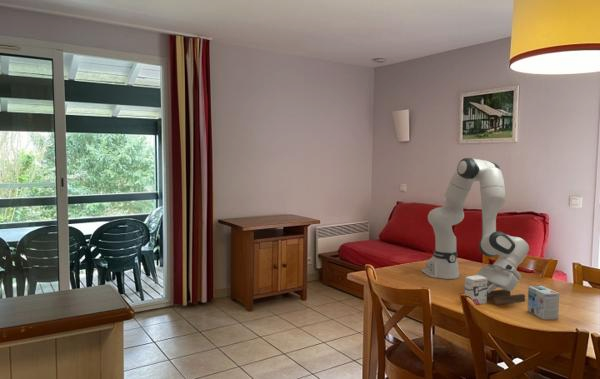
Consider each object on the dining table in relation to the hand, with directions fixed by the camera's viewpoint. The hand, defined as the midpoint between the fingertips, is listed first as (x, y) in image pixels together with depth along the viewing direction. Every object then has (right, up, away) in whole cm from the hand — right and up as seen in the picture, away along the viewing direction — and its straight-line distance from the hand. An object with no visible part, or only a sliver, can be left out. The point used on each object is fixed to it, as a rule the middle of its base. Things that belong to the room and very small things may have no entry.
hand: (485, 291), depth 192 cm
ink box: (-5, -5, -1) cm, 7 cm away
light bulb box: (+16, -6, -16) cm, 24 cm away
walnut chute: (+9, -5, +3) cm, 11 cm away
